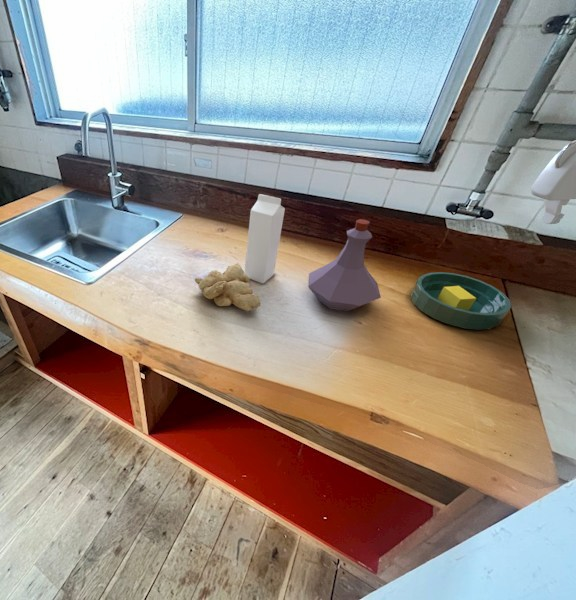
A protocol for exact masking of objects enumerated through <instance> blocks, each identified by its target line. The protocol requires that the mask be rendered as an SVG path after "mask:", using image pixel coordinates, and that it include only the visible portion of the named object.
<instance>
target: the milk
mask: <svg viewBox="0 0 576 600" xmlns="http://www.w3.org/2000/svg"><path fill="white" fill-rule="evenodd" d="M257 195H258V196H257V200H256V202H255V203H254V205H252V207H251V208H250V212H249V213H250V214H249V223H248V233H247V243H246V251H245V261H244V262H245V263H244V270H243V272H244V274H246V275H247V276H248V277H249V280H252V281H254V282H256V283H260V284H262V285H263V284H264V283H266V282H267V281H268V280H270V278H272V277H273V276H274V275H275V270H276V265H277V264H276V263H277V258H278V252H279V246H280V241H281V235H282V228H283V222H284V218H285V217H284V216H285V210H286V208H285V206H283V205H281V204H282V198H280V197H277V196H271V195H267V194H262V193H259V194H257Z"/></svg>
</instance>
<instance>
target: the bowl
mask: <svg viewBox="0 0 576 600" xmlns="http://www.w3.org/2000/svg"><path fill="white" fill-rule="evenodd" d="M448 286H460V287H461V288H463V289H464V290H466V291H467V292H468V293H470V294H471V295H473V296H474V297H475V298H476V300H475V302H474V303H473V305H472V306H471V308H470V309H469V311H467V310H462V309H458V308H455V307H452V306H450V305H447V304H445V303H442V302H441V301H439V300H438V299H437V298H438V297H439V295H440V293H441V291H442V289H443V288H444V287H448ZM410 299H411V301H412V302H413V304H414V306H416V307H417V308H418V309H419V310H420V311H421V312H423V313H424V314H426V315H427V316H428V317H431V318H432V319H435V320H437V321H439V322H441V323H444V324H446V325H450V326H453V327H457V328H461V329H467V330H476V331H479V330H491V329H493V328H496V327H498V326H499V325H500V324H501V323H502V321H503V319H504V318H505V317H506V315H507V314H508V313H509V311H510V310H511V308H512V303H511V300H510V298H509V297H507V295H506V294H505V293H504V292H503V291H502V290H500V289H498V288H497V287H495V286H493V285H492V284H490V283H487V282H485V281H483V280H480V279H477V278H475V277H471V276H469V275H464V274H460V273H454V272H444V271H437V272H436V271H435V272H428V273H424V274H422V275H421V276H419V278H417V280H416V281H415V283H414V286H413V288H412V290H411V292H410Z"/></svg>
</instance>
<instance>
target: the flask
mask: <svg viewBox="0 0 576 600" xmlns="http://www.w3.org/2000/svg"><path fill="white" fill-rule="evenodd" d="M370 224H371V222H370V220H367V219H364V218H363V219H361V218H359V219H356V221H355V227H354V228H351V229H348V230H346V235H347V239H346V240H347V241H346V242H345V245H344V246H343V248H342V249H341V251H340V253H339V254H338V255H337V257H336V258H335V259H334V260H332V261H330V262H329V263H326V264H325V265H324V266H322V267H319V268H317V269H315V270H313V271H310V272H309V273H308V283H307V284H308V285H307V287H308V288H309V290H310V291H311V292H312V294H313V295H314V296H315V298H317V300H318V301H319V302H320V303H322V304H323V305H325V306H326V307H328V308H329V309H332V310H337V311H345V312H348V311H351V310H354V309H356V308H359V307H361V306H364V305H367V304H369V303H371V302H374V301H376V300H379V299H381V298H382V295H381V293H380V292H381V291H380V287H379V285H378V282H377V280H376V279H375V278H374V276H373V275H372V274H371V273H370V271H369V270H368V268H367V267H366V265H365V249H366V245H367V243H368V242H369V241H370V240H371V239H373V235H372V233H371V232H370V231H369V230H368V228H369V226H370Z"/></svg>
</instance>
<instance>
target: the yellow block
mask: <svg viewBox="0 0 576 600" xmlns="http://www.w3.org/2000/svg"><path fill="white" fill-rule="evenodd" d="M437 299H438V300H439V301H441V302H442V303H445V304H447V305H450V306H452V307H455V308H458V309H462V310H467V311H469V309H470V308H471V306H472V305H473V303H474V302H475V300H476V298H475V297H474V296H473V295H471V294H470V293H468V292H467V291H466V290H464V289H463V288H461V287H460V286H448V287H444V288H443V289H442V291H441V293H440V295H439V297H438V298H437Z"/></svg>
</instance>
